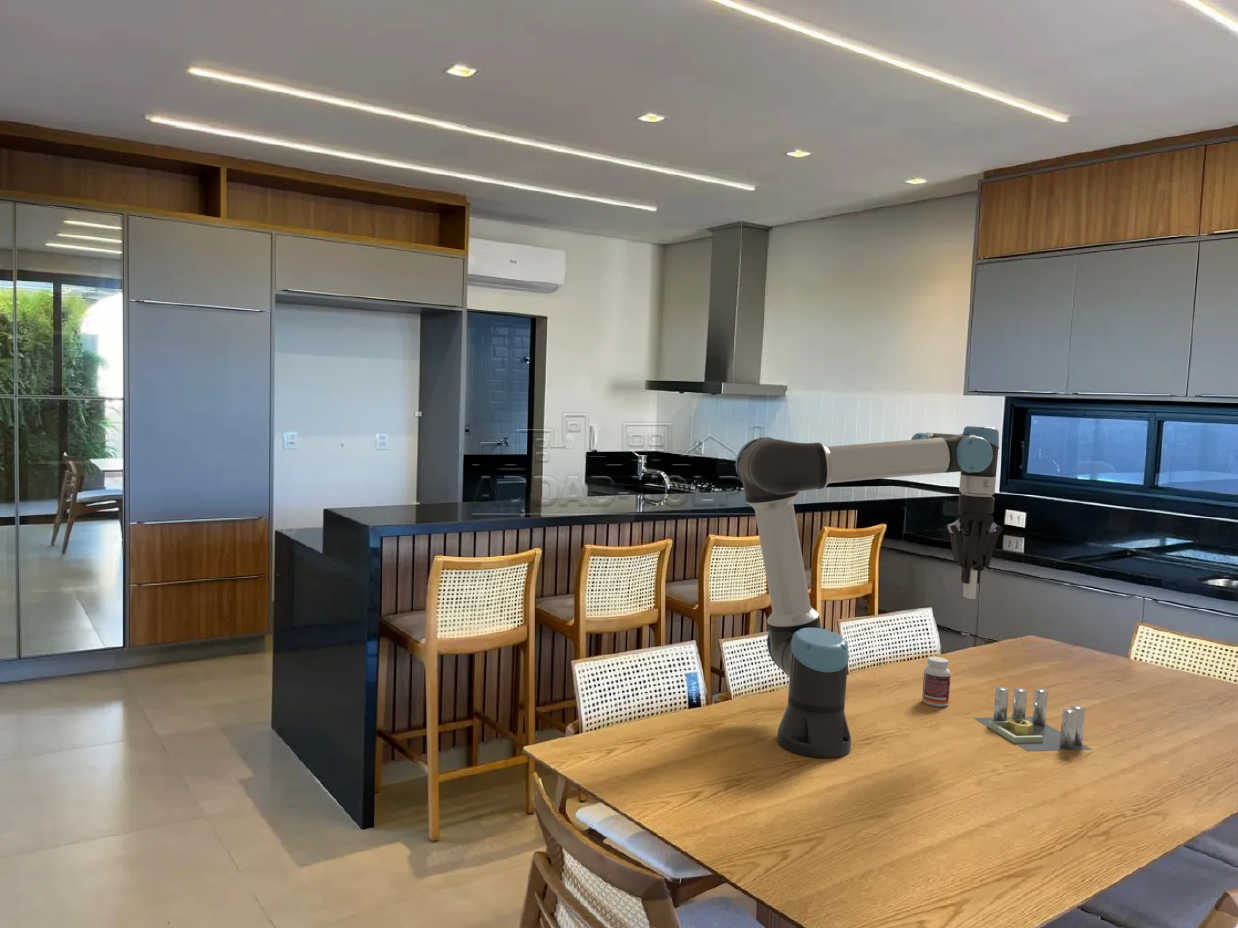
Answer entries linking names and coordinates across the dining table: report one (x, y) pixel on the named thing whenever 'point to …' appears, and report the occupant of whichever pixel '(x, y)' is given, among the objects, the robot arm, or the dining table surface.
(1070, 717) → the spacer posts
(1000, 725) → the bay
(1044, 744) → the mat
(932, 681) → the pill bottle
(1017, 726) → the nut
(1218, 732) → the dining table surface
